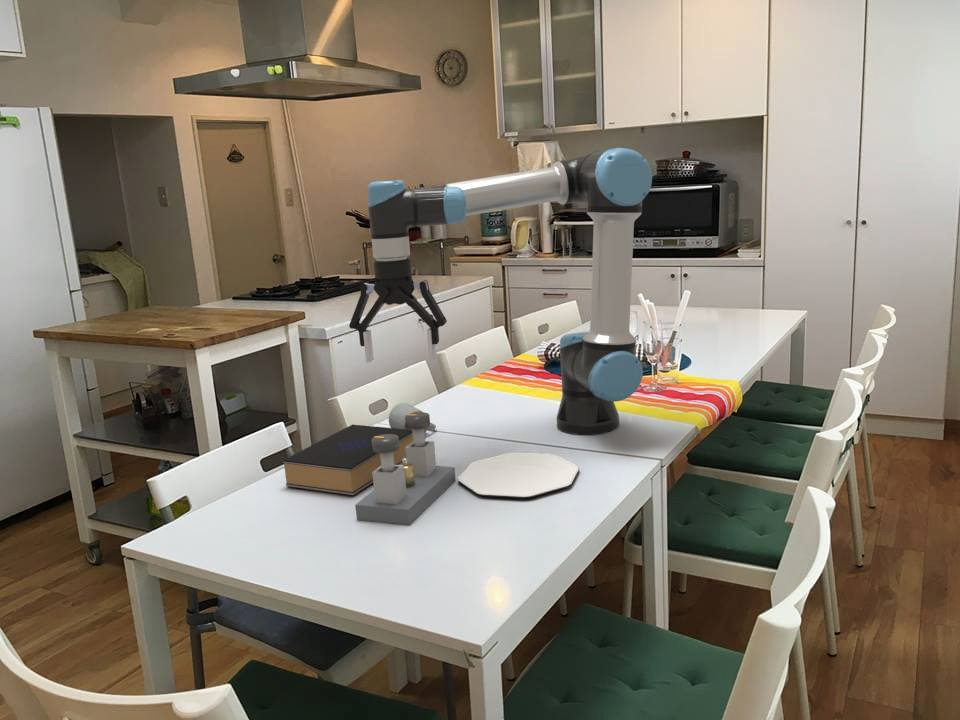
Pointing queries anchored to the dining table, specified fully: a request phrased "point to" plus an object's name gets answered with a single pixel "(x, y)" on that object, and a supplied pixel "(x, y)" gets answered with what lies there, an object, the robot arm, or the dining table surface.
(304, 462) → the book
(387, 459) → the knob
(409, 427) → the knob
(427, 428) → the ceramic mug
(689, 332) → the dining table surface
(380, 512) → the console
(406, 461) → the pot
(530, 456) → the plate
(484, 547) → the dining table surface
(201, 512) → the dining table surface
